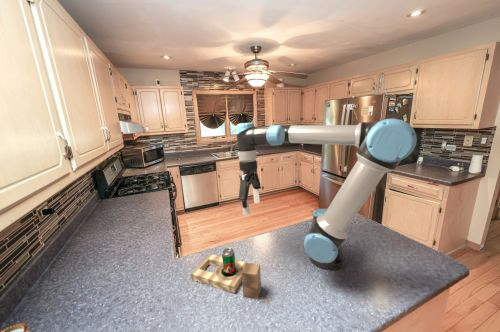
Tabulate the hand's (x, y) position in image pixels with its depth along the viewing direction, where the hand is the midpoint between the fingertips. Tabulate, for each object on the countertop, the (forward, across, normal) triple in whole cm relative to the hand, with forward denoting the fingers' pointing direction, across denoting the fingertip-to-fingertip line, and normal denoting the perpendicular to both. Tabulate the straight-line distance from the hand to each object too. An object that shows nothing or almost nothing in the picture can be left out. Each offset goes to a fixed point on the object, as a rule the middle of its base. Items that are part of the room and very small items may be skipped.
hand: (252, 208), depth 90 cm
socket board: (+25, +13, -11) cm, 30 cm away
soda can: (+25, +13, -7) cm, 29 cm away
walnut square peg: (+26, +18, +4) cm, 31 cm away
